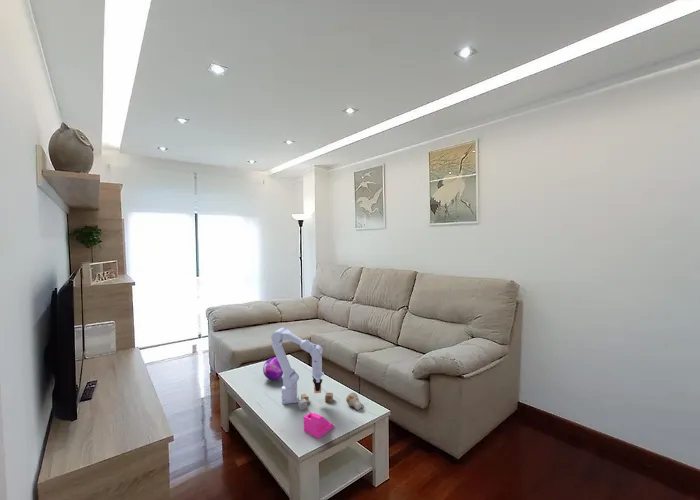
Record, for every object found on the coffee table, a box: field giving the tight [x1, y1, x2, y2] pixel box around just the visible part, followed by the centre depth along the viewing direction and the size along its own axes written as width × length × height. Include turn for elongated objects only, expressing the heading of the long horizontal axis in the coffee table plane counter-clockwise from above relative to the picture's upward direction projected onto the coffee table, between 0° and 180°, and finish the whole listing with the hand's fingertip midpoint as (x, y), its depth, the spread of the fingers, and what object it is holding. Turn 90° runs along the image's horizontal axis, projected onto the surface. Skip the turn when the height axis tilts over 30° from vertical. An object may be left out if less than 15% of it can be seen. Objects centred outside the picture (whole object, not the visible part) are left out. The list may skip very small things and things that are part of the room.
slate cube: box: [297, 398, 308, 411], centre depth 187 cm, size 4×4×4 cm
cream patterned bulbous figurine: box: [345, 392, 365, 411], centre depth 188 cm, size 8×10×10 cm
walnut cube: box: [324, 392, 334, 403], centre depth 195 cm, size 4×4×4 cm
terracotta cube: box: [313, 384, 322, 394], centre depth 191 cm, size 4×4×4 cm
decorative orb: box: [262, 356, 283, 381], centre depth 224 cm, size 15×15×15 cm
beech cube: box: [300, 392, 310, 404], centre depth 194 cm, size 4×4×4 cm
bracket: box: [303, 411, 335, 439], centre depth 167 cm, size 12×10×10 cm
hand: (317, 388), depth 191 cm, fingers closed on terracotta cube, 4 cm apart
